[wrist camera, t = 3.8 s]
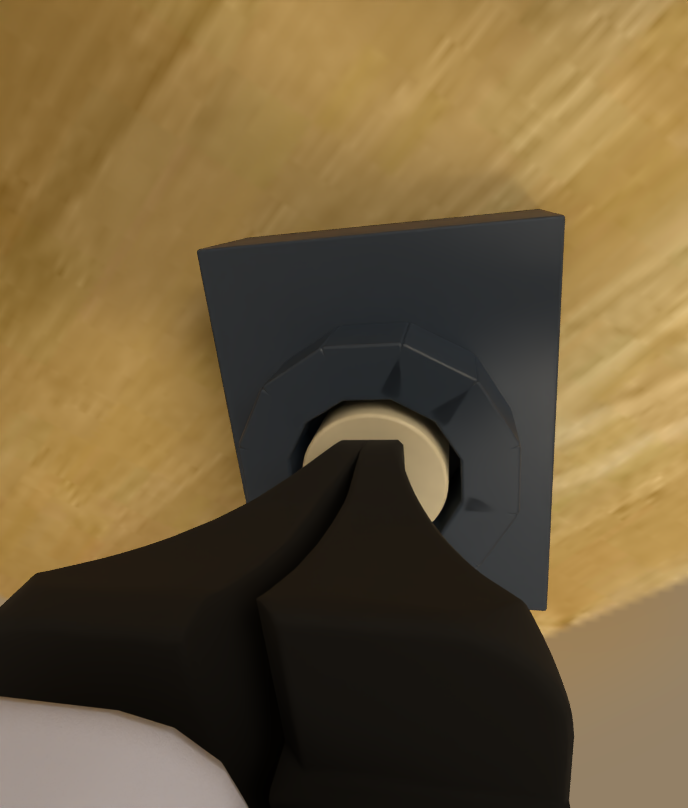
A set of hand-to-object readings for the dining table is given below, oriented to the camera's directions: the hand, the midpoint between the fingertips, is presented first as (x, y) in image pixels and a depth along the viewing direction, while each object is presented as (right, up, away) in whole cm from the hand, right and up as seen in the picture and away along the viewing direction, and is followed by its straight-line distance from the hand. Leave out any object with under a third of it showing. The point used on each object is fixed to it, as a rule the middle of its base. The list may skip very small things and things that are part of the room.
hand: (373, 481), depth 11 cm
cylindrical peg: (0, +1, +2) cm, 2 cm away
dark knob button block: (+1, +2, +5) cm, 5 cm away
